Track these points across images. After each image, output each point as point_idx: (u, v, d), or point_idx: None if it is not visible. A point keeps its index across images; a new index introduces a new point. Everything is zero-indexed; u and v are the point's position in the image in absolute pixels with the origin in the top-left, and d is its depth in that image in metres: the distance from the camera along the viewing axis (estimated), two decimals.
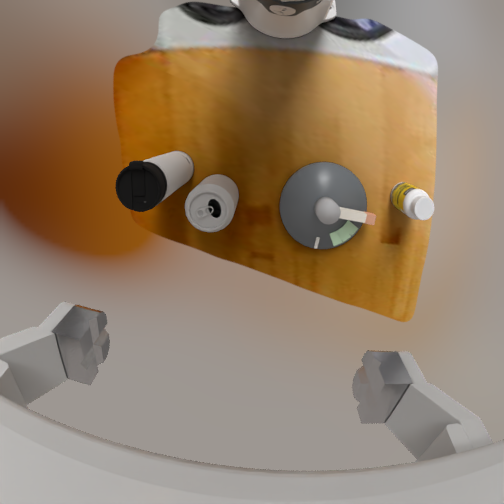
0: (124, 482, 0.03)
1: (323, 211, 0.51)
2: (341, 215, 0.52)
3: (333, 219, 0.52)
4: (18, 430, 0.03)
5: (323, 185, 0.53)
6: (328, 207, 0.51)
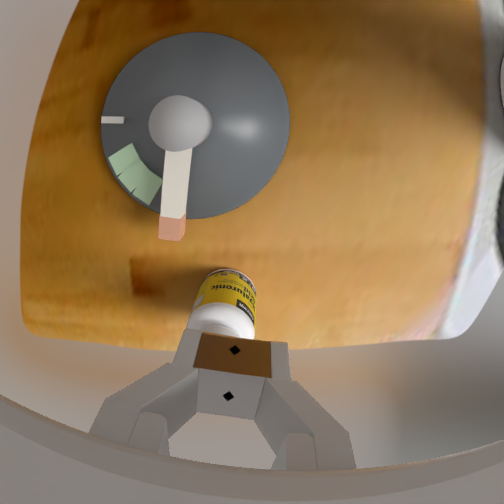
0: (124, 482, 0.03)
1: (178, 109, 0.19)
2: (172, 157, 0.21)
3: (160, 136, 0.20)
4: (18, 430, 0.03)
5: (237, 116, 0.23)
6: (189, 119, 0.20)
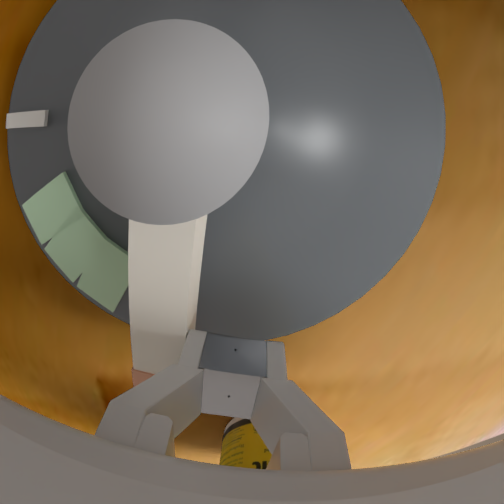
0: (124, 482, 0.03)
1: (169, 67, 0.05)
2: (149, 230, 0.07)
3: (105, 168, 0.05)
4: (18, 430, 0.03)
5: (331, 109, 0.08)
6: (208, 107, 0.05)
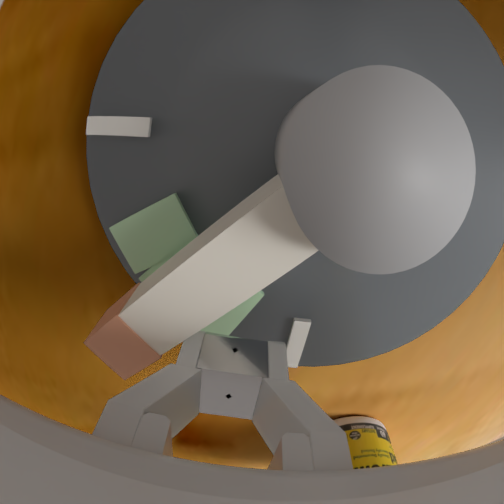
0: (124, 482, 0.03)
1: (433, 148, 0.05)
2: (272, 225, 0.07)
3: (320, 160, 0.05)
4: (18, 430, 0.03)
5: None
6: (427, 203, 0.05)
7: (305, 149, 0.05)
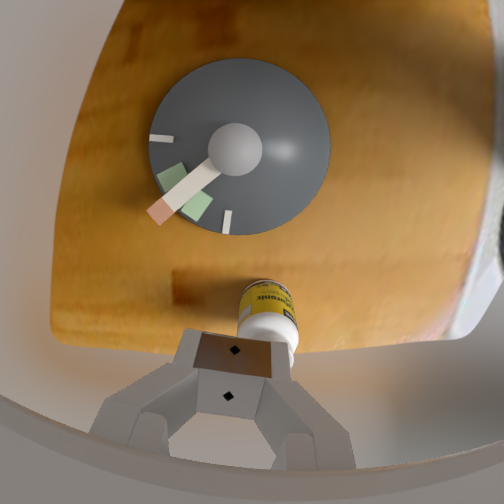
0: (124, 482, 0.03)
1: (246, 142, 0.22)
2: (208, 166, 0.24)
3: (216, 148, 0.22)
4: (18, 430, 0.03)
5: (284, 142, 0.26)
6: (246, 156, 0.22)
7: (212, 145, 0.22)
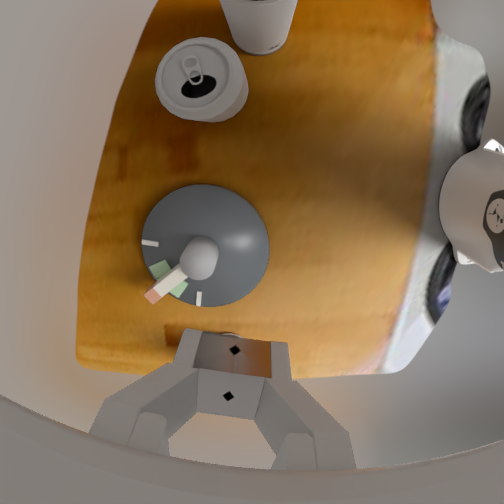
0: (124, 482, 0.03)
1: (204, 259, 0.34)
2: (181, 270, 0.36)
3: (184, 262, 0.35)
4: (18, 431, 0.03)
5: (235, 247, 0.38)
6: (204, 268, 0.35)
7: (182, 261, 0.34)
